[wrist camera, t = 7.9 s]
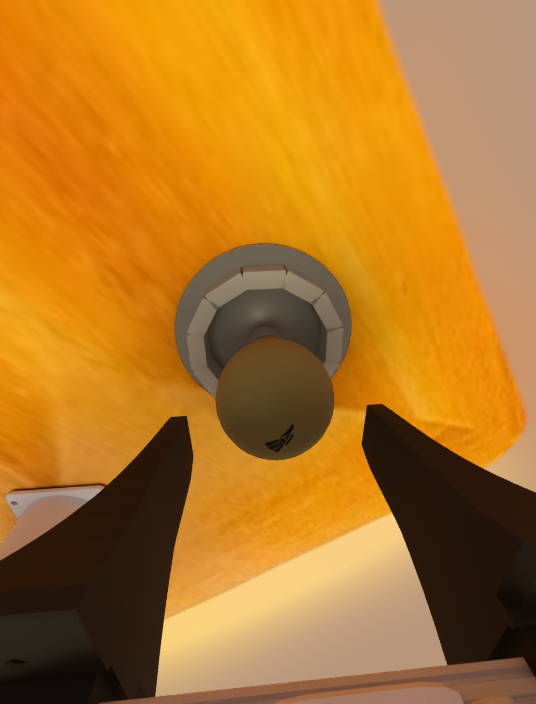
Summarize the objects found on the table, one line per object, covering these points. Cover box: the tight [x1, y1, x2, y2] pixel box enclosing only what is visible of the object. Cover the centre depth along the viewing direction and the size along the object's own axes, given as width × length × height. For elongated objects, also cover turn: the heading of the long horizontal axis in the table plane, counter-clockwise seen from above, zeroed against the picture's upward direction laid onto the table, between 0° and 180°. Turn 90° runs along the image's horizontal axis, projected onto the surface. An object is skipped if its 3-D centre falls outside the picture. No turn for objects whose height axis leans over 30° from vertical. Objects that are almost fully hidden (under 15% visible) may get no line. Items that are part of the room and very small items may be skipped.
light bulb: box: [215, 326, 334, 460], centre depth 17 cm, size 6×6×10 cm
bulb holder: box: [175, 244, 351, 398], centre depth 20 cm, size 12×12×2 cm
